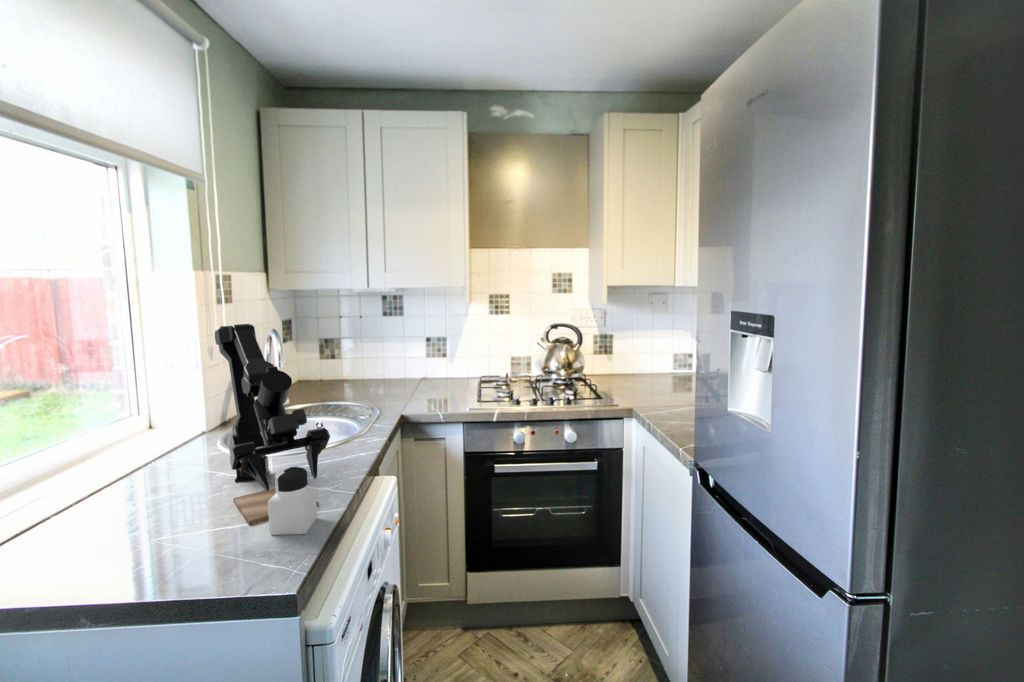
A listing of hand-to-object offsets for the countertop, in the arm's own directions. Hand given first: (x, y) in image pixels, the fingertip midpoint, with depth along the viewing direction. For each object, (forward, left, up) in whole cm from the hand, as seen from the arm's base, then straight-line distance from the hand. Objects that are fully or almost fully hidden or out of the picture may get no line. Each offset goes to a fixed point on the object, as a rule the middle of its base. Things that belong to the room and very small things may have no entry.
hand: (292, 483), depth 105 cm
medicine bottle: (0, +1, -10) cm, 10 cm away
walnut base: (-7, +13, -9) cm, 17 cm away
